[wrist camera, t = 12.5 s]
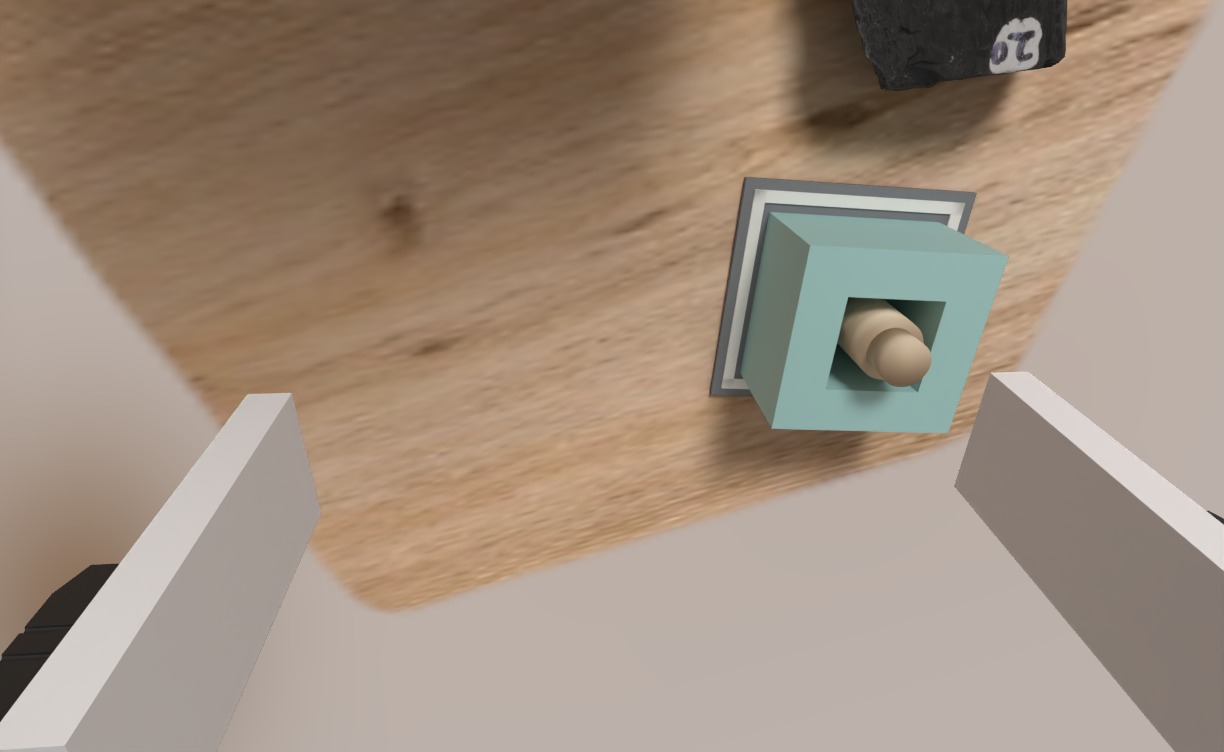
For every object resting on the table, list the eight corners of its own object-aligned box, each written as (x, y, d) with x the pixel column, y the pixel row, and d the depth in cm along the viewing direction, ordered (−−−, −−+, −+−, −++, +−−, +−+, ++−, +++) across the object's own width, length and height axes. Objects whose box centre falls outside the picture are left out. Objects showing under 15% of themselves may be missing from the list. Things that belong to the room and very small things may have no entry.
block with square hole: (740, 373, 38) (771, 428, 33) (769, 211, 34) (810, 245, 29) (893, 378, 39) (947, 433, 34) (938, 222, 35) (1008, 256, 30)
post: (815, 271, 36) (882, 331, 29) (870, 274, 36) (949, 334, 29) (804, 324, 37) (865, 394, 30) (856, 326, 38) (929, 396, 30)
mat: (745, 176, 34) (747, 178, 33) (973, 192, 35) (977, 193, 35) (710, 392, 39) (711, 395, 39) (909, 398, 40) (912, 402, 40)
